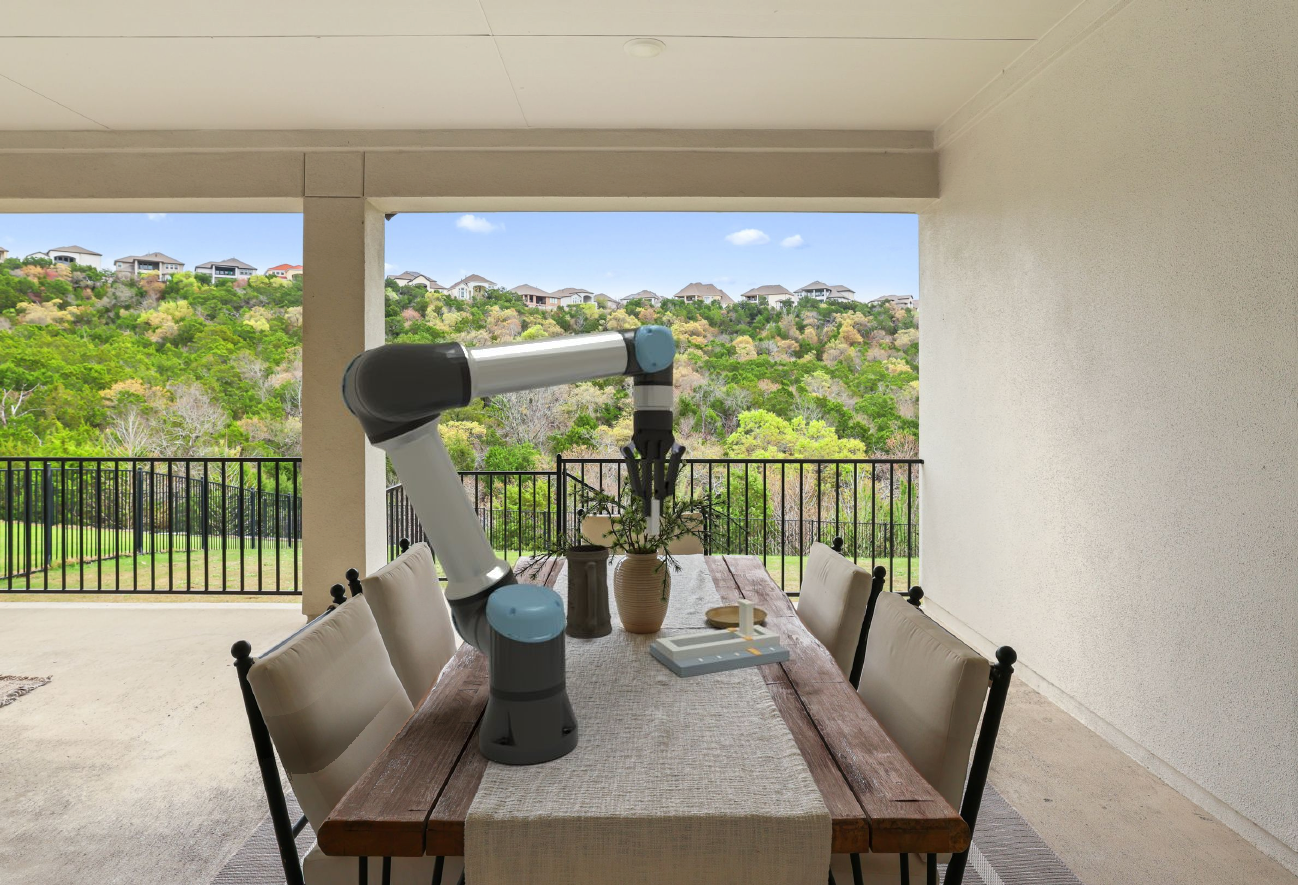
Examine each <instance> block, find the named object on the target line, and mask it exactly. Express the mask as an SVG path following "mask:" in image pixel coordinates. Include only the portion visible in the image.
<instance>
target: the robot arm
mask: <svg viewBox="0 0 1298 885" xmlns="http://www.w3.org/2000/svg"><path fill="white" fill-rule="evenodd" d="M673 334H674V333H673V331H672V329H671V328H669V327H668V326H663V325H660V324H652V325H651V324H645V325H641V326H637V327H631V328H630V327H629V328H623V329H617V330H605V331H604V330H603V331H597V332H596V331H595V332H588V333H585V332H584V333H579V334H570V335H563V336H554V337H553V336H552V337H547V338H545V337H544V338H535V339H528V340H527V339H526V340H519V341H510V342H502V343H493V344H484V345H475V346H467V347H466V346H465V345H464V344H463V343H461V342H460V341H449V342H430V343H429V342H427V343H426V342H425V343H421V342H420V343H419V342H417V343H416V342H392V343H386V344H382V345H380V346H377V347H375V348H372V349H367V350H365V351H363V352H361V353H358V354H357V356H356V357H354V358H353V359H352V360H351V361H350V363H349V364H348V365H347V367H346V368H345V370H344V372H343V375H342V379H341V383H340V384H341V385H340V388H341V391H340V392H341V395H342V396H341V397H342V399H343V402H344V404H345V406H346V408H347V409H348V410H349V411H350V413H351V414H352V415H353V416H354V417H355V418H357V419H358V421H359V423H360V425H361V427H362V430H363V431H364V433H365V435H366V437H367V439H368V441H369V443H370V445H371V447H373V448H374V447H375V448H377V449H381V450H383V452H385V453H386V455H387V458H388V459H389V461H390V464H391V465H392V468H393V470H394V472H395V474H396V476H397V479H399V482H400V484H401V486H402V488H403V491H404V492H405V495H406V496H407V498H408V500H409V502H410V504H411V506H412V509H413V512H414V514H415V515H416V517H417V519H418V522H419V523H420V525H421V528H422V529H423V530H422V531H424V533H425V536H426V537H427V538H426V539H427V540H428V541H429V544H430V546H431V548H432V550H433V553H434V555H435V556H436V559H437V561H438V562H439V565H440V566H441V569H442V571H443V573H444V576H445V577H446V579H447V584H446V586H445V589H444V591H443V592H444V597H445V600H446V601H447V603H448V606H449V608H450V614H451V621H452V624H453V626H454V627H453V628H454V629H455V631H456V632H457V634H458V636H459V637H460V638H461V639H462V640H463V642H464V643H466V644H467V645H469V646H470V647H473V648H474V649H475V650H477V651H479V653H480V654H483V656H484V657H486V658H487V660H488V674H489V675H488V677H489V680H488V681H489V698H488V700H487V705H486V708H485V712H484V715H483V718H482V722H481V725H480V728H479V734H478V742H479V743H478V744H479V746H478V747H479V748H478V749H479V751H480V753H481V755H483V757H486V758H487V759H489V760H491V761H493V760H496V761H495V762H498V763H502V764H509V765H531V764H538V763H544V762H549V761H551V760H555V759H557V758H560V757H563V756H565V755H566V754H568V753H569V752H571V751H572V750H573V749H574V748H576V746H577V745H578V743H579V737H580V736H579V724H578V720H577V717H576V714H575V711H574V709H573V706H572V704H571V700H570V697H569V695H568V690H567V672H566V670H567V665H566V663H567V662H566V660H567V658H566V622H567V620H566V617H567V615H566V613H565V607H564V606H565V605H564V600H563V598H562V596H561V595H560V594H559V593H558V591H556V590H554V589H553V588H551V587H548V586H545V585H537V584H533V583H519V581H518V579H517V577H516V574H515V573H514V571H513V568H512V567H511V566H512V565H511V564H510V562H508V561H507V560H504V559H501V558H498V557H497V556H496V554H495V552H494V549H493V547H492V544H491V543H490V540H489V538H488V536H487V534H486V533H485V530H484V528H483V525H482V523H481V521H480V519H479V517H478V515H477V512H476V511H475V508H474V506H473V504H472V501H471V499H470V497H469V495H468V493H467V491H466V488H465V486H464V484H463V482H462V480H461V478H460V476H459V473H458V471H457V469H456V466H455V465H454V461H452V458H451V456H450V453H449V452H448V450H447V448H446V445H445V443H444V441H443V439H442V435H441V434H440V432H439V429H438V427H439V424H440V422H441V419H442V417H443V416H442V412H446V411H450V410H451V411H452V410H456V409H460V408H466V407H468V408H469V407H470V406H471V404H472V403H473V401H474V400H475V399H479V398H487V397H492V396H499V395H506V394H512V393H518V392H526V391H531V390H537V389H545V388H552V387H557V386H564V385H571V384H576V383H582V382H590V381H594V380H601V379H602V380H603V379H609V378H615V377H626V378H633V379H632V380H633V381H632V382H633V389H632V390H633V392H632V393H633V399H632V400H633V405H632V406H633V407H634V408H636V410H634V412H633V413H632V415H633V417H632V418H633V419H632V420H633V426H632V428H633V433H632V436H631V438H630V441H629V442H627V444H626V445H624V446H623V445H622V446H620V447H619V451H620V453H621V454H622V456H623V458H624V461H625V465H626V471H627V476H628V478H629V479H628V480H629V484H630V488H631V491H632V496H634V497H636V498H637V497H638V498H640V499H641V500H642V505H641V506H642V509H641V511H642V512H641V513H642V516H643V517H645V518H646V534H648V535H650V536H659V535H660V517H663V516H664V514H665V510H664V507H665V505H664V504H665V503H664V501H665V500H666V499H667V497H672V496H673V494H674V493H675V489H676V488H675V487H676V483H677V478H678V475H679V469H680V464H681V461H682V457H683V456H684V454H685V452H686V451H687V447H686V445H681V444H680V443H678V442H676V439H675V436H674V434H673V432H674V412H673V411H672V410H671V408H673V407H674V359H675V357H676V353H677V345H676V340H675V338H674V335H673ZM635 450H636V451H637V453H638V455H639V456H640V464H641V476H640V473H639V468H638V464H637V460H636V456H635V453H636V451H635ZM669 452H671V454H670V457H669V460H668V461H669V462H668V466H667V469H666V466H665V465H666V461H667V455H668V453H669ZM665 469H666V470H667V471H666V470H665ZM665 473H666V474H665ZM653 497H654V498H653Z"/></svg>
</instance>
